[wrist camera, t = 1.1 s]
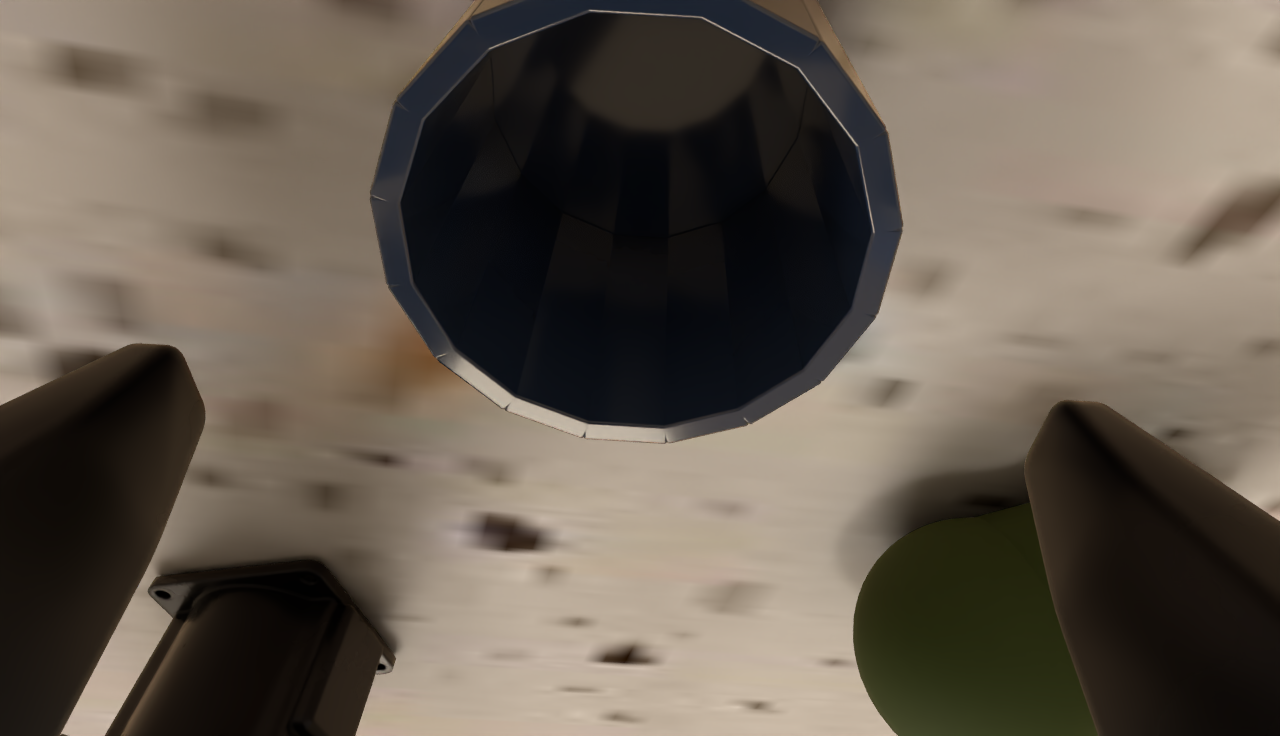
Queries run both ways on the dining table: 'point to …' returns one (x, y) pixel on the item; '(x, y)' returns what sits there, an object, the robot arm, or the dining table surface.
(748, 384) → the blue coffee mug
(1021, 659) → the avocado
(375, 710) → the dining table surface
